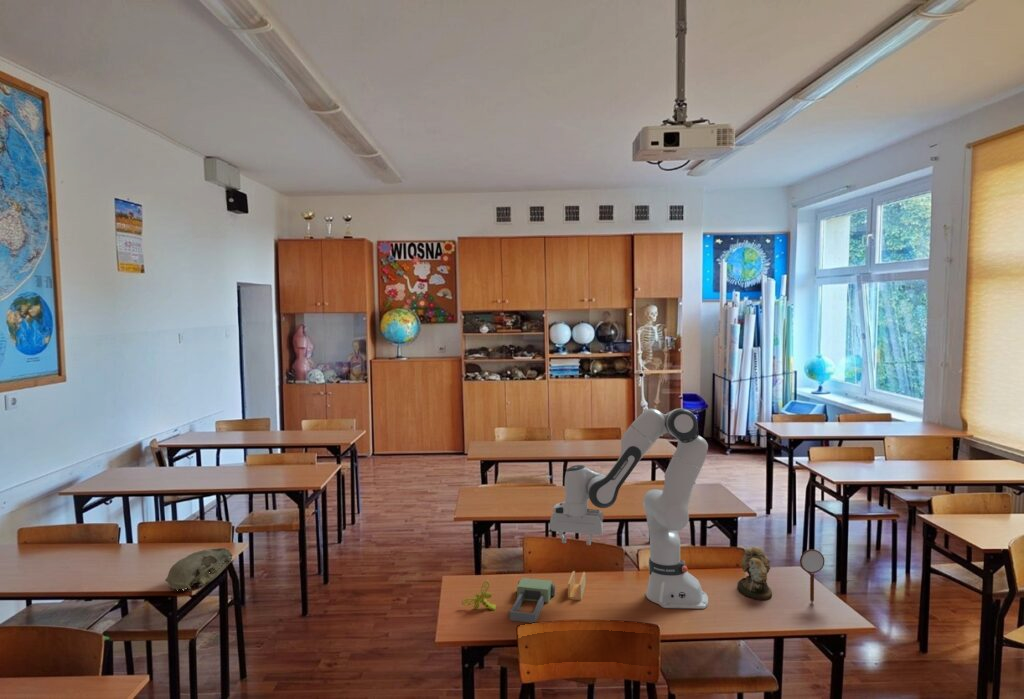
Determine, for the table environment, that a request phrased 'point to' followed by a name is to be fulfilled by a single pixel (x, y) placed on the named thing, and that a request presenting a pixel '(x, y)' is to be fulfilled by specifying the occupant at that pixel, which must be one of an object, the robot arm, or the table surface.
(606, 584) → the table surface
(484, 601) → the decorative insect
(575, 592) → the chute
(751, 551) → the stone bust
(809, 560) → the magnifying glass
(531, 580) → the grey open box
